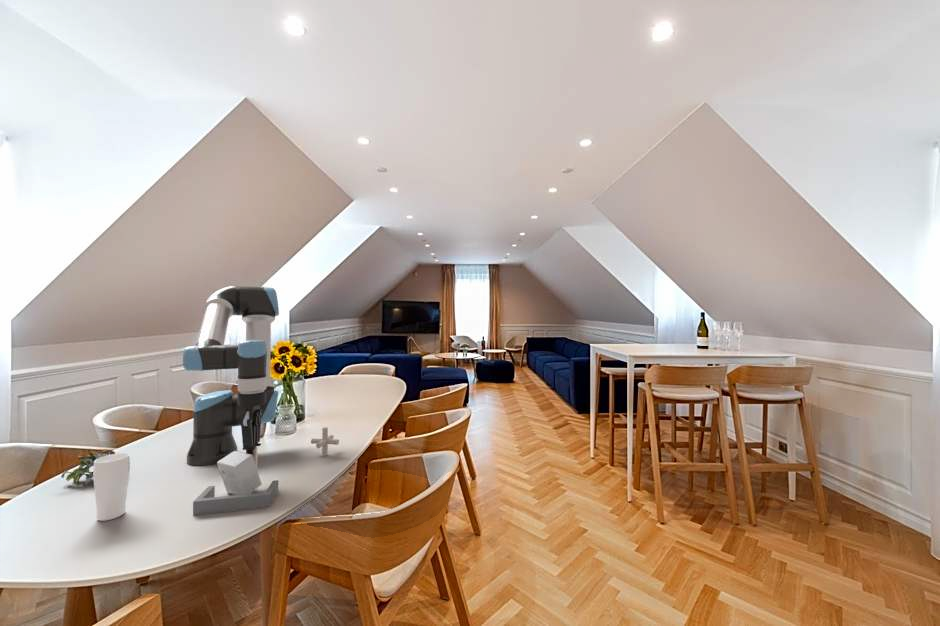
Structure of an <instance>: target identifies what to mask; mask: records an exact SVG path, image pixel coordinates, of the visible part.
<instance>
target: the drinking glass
mask: <svg viewBox="0 0 940 626" xmlns="http://www.w3.org/2000/svg"><path fill="white" fill-rule="evenodd" d="M130 456H131V455H130V454H129V453H128V452H127V453H126V452H119V453H116V454H111V455H110V454H109V455H106V456H103V457H100V458H98V459H96V460H95V461H94V466H92V467H93V470H92V472H93V487H94V497H95V504H96V505H95V507H96V508H95V509H96V519H97V520H98V521H101V522H105V521H111V520H114V519H117V518H119V517H121V516H122V515H124V514H125V512H126V507H127V506H126V503H127V496H128V495H127V494H128V487H129V480H130V479H129V477H130V469H131V459H130Z"/></svg>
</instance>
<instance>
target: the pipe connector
mask: <svg viewBox="0 0 940 626" xmlns="http://www.w3.org/2000/svg"><path fill="white" fill-rule="evenodd" d="M328 429H329V428H328V427H327V426H325V427H322V429H321V430H322V435H321V436H322V437H321V438H315V437H314V438H311V439H310V444H312V445H313V444H315V447H316V449H321V448H322V454H321V456H322V455H323V456H322V457H326V456H328V452H329V451H328V445H335V446H337V445H339V444H340V440H339V439H336V438H334V437H335V436H334V434H329V435H328V433H329V432H328V431H329V430H328Z"/></svg>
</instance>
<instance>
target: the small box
mask: <svg viewBox="0 0 940 626" xmlns="http://www.w3.org/2000/svg"><path fill="white" fill-rule="evenodd" d="M216 465H217V467H218V471H219V473H220V476H221V479H222V482H223V486H224V488H225V492H226V493H227V494H231V495H243V494H253V492H254V491H255V490H257V489H259V487H261V485H262V481H261V477H260V474H259V472H258V467H257V468H256V465H255V462H254V458H253V455H252V454H247V453H246V452H240V451H238V450H237V451H234V452H232V453H230V454H229V455H227V456H226V457H224V458H223V459H221V460H220V461H218V462H217V463H216Z"/></svg>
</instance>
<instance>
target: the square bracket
mask: <svg viewBox="0 0 940 626" xmlns="http://www.w3.org/2000/svg"><path fill="white" fill-rule="evenodd" d="M215 487H216V485H209V486H207V487H206V488H205V489H204V490H203V491H202V492H201V493H200V494H199V495H198V496H197V497H196V498H195V499H194V500H193V502H192V516H200V515H210V514H211V515H212V514H219V513H229V512H238V511H239V512H240V511H246V510H247V511H248V510H257V509H267V507H269V508H271V506H270V505H272V504H273V502H274V501H273V500H275V499H274V498H276V497H277V495H278V494H279V479H278V480H277V479H274V480H272V481H271V483H270V485H268V487H267V489H266V490H265V492H258V493H257V492H255V493H250V494H243V495H234V494H232V495H223V496H216V494H215V489H216V488H215ZM277 493H278V494H277Z"/></svg>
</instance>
